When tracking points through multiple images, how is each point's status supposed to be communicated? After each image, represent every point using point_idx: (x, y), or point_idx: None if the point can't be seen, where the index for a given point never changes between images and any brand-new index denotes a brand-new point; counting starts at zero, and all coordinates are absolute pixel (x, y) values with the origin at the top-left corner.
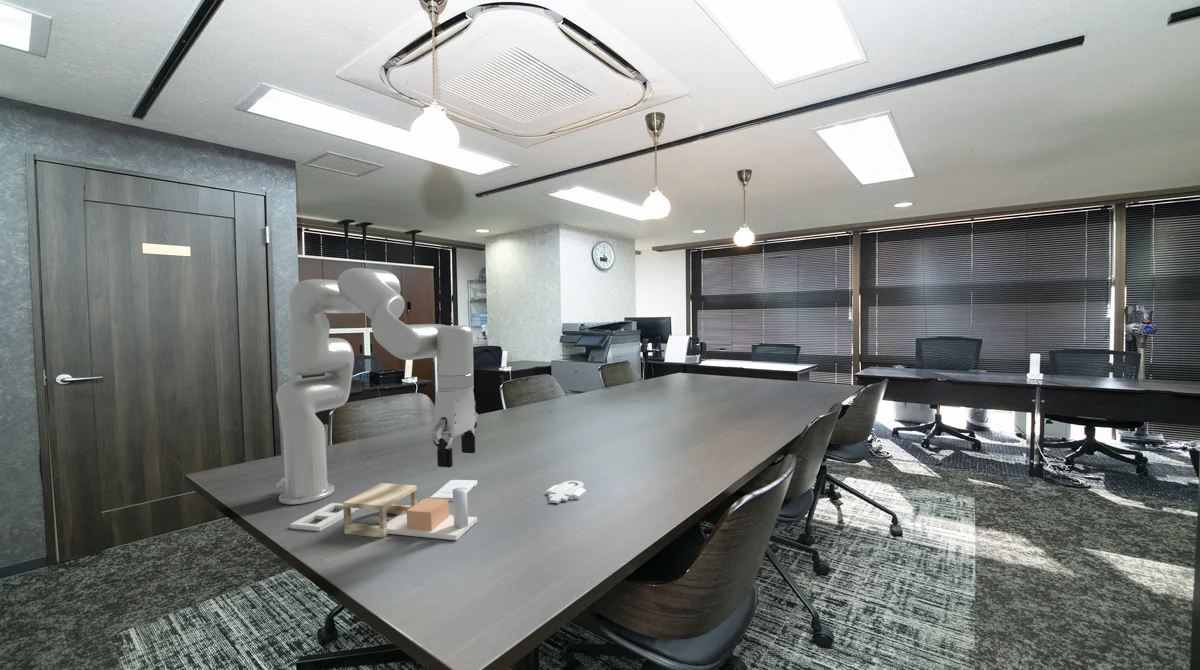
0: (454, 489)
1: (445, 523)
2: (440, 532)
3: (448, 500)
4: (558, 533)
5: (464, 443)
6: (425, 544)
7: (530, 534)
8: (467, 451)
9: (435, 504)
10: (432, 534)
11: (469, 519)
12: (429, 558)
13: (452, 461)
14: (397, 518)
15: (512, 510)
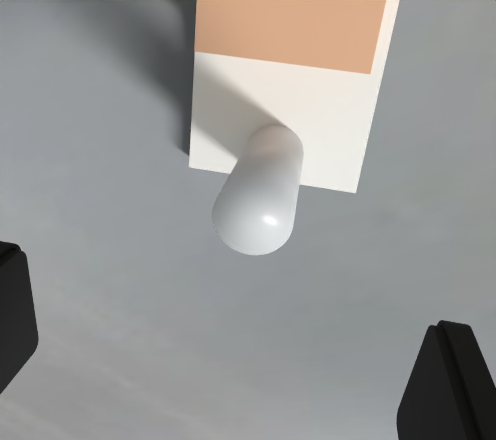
0: (256, 186)
1: (290, 75)
2: (205, 91)
3: (369, 73)
4: (275, 429)
5: (443, 431)
6: (155, 47)
7: (264, 367)
8: (414, 382)
9: (300, 23)
10: (195, 58)
11: (332, 168)
12: (71, 113)
13: (9, 377)
14: None
15: (464, 289)
